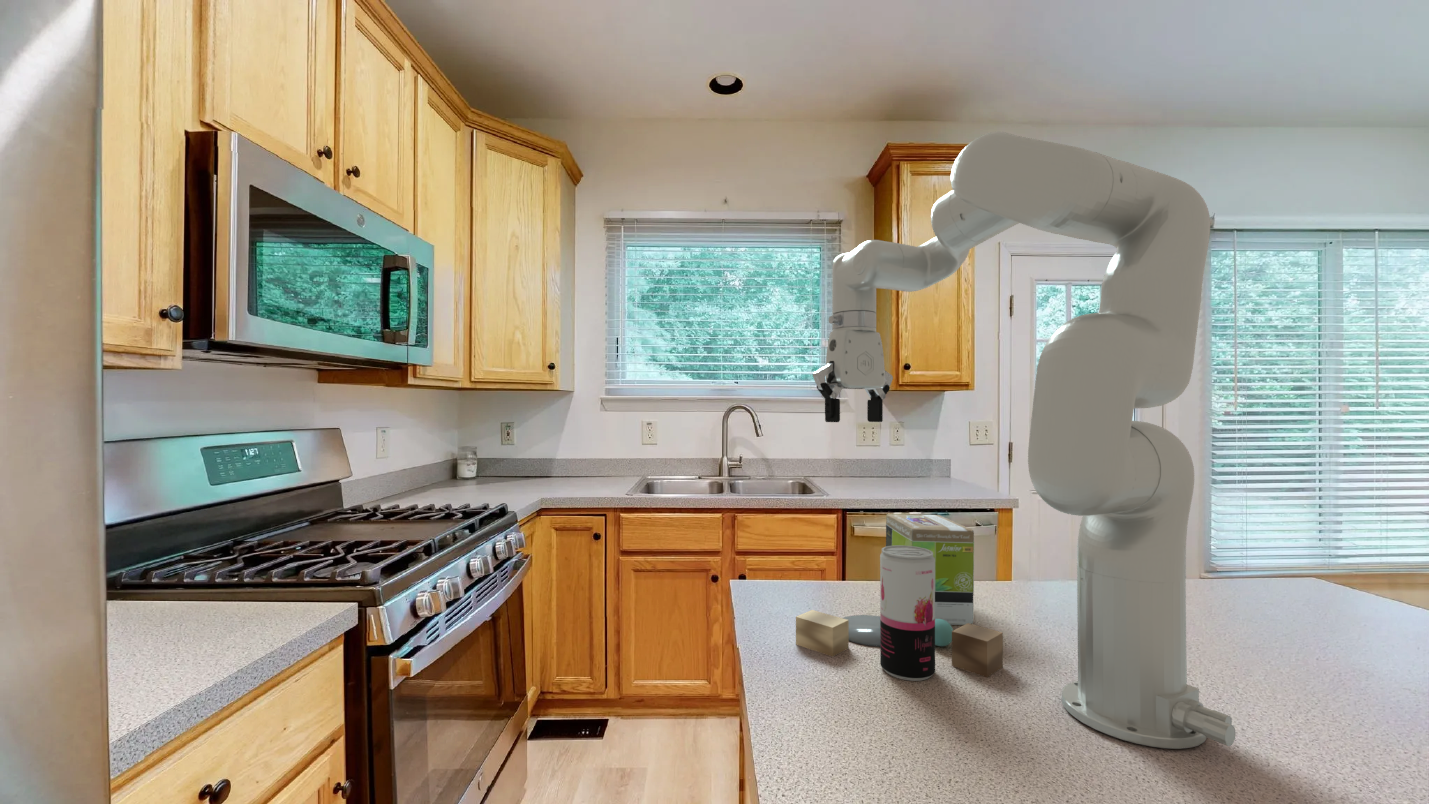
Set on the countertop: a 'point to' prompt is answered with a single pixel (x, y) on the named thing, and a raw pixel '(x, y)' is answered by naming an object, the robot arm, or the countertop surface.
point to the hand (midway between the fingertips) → (854, 421)
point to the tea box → (941, 560)
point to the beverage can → (907, 612)
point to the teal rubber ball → (942, 632)
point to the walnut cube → (977, 649)
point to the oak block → (822, 632)
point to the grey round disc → (864, 629)
